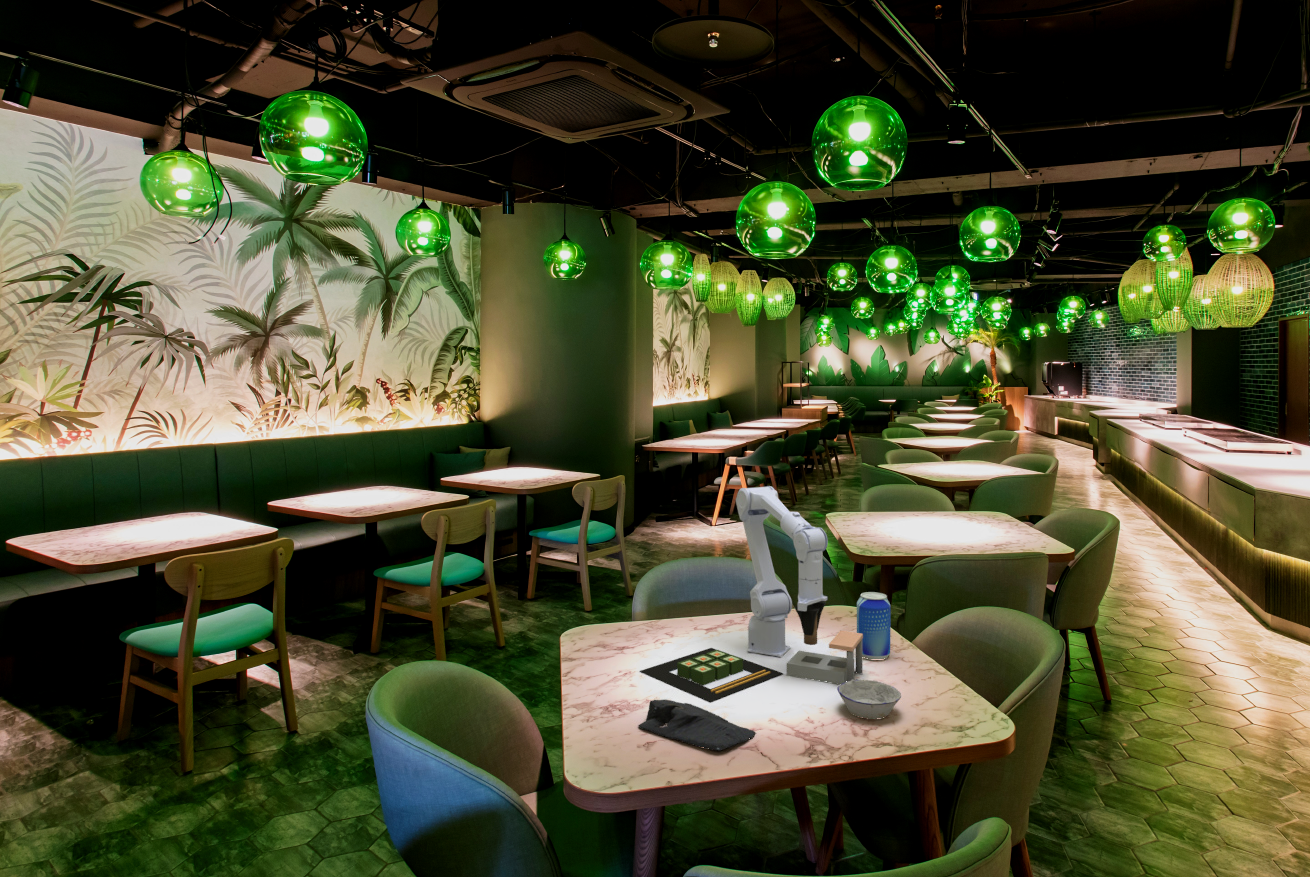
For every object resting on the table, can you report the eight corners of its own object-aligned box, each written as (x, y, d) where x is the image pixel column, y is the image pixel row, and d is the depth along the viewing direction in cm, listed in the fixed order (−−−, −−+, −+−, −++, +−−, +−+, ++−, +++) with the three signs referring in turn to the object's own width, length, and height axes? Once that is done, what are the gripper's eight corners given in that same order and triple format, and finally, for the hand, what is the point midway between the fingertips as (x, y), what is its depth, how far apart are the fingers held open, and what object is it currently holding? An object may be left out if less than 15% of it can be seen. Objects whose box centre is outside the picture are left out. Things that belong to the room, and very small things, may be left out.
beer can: (886, 650, 193) (886, 591, 192) (893, 661, 185) (893, 599, 184) (854, 650, 194) (854, 590, 193) (860, 661, 185) (860, 599, 185)
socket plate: (786, 675, 177) (786, 663, 177) (798, 661, 185) (798, 650, 185) (844, 685, 170) (844, 672, 170) (854, 670, 179) (854, 658, 179)
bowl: (824, 709, 157) (824, 687, 157) (863, 695, 165) (863, 674, 164) (873, 730, 147) (873, 707, 146) (912, 714, 154) (913, 692, 154)
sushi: (710, 705, 161) (710, 689, 161) (639, 674, 180) (639, 659, 180) (783, 676, 177) (783, 661, 177) (711, 650, 197) (711, 637, 196)
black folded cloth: (714, 764, 135) (714, 739, 135) (632, 728, 150) (631, 705, 150) (762, 736, 146) (762, 713, 146) (681, 705, 161) (681, 684, 161)
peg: (802, 643, 177) (802, 615, 177) (805, 639, 180) (805, 612, 180) (815, 645, 176) (815, 617, 176) (818, 641, 179) (818, 613, 179)
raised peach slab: (828, 683, 171) (828, 643, 171) (840, 668, 181) (840, 630, 180) (852, 687, 169) (852, 647, 168) (863, 671, 178) (863, 633, 178)
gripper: (818, 586, 169) (818, 643, 170) (834, 573, 182) (834, 626, 183) (789, 583, 172) (789, 639, 173) (807, 570, 185) (807, 622, 186)
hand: (810, 632), depth 178 cm, fingers closed on peg, 3 cm apart
